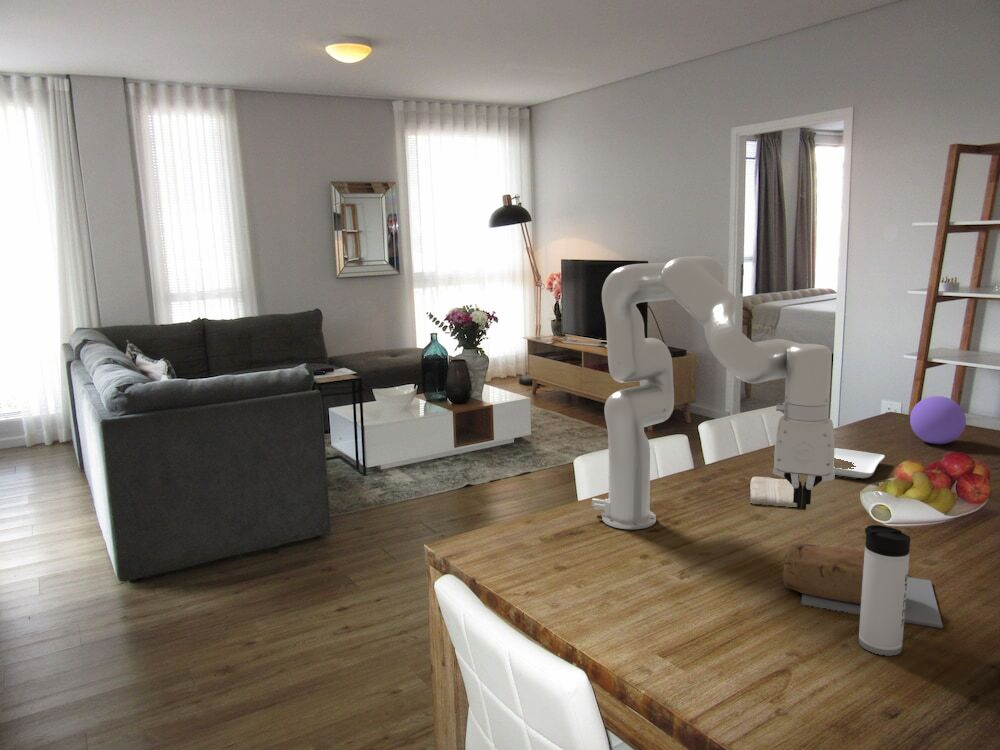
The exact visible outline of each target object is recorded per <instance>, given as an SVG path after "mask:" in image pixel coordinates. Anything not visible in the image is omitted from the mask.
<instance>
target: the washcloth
mask: <svg viewBox="0 0 1000 750" xmlns="http://www.w3.org/2000/svg"><path fill="white" fill-rule="evenodd" d="M749 488H750V500H751V502H750V504H751V503H752V504H751V505H755V504H762V505H761V506H764V505H766V506H768V505H778V506H786V507H785V508H788V507H797V503H793V495H794V488H793V486H792V485H791V484H790V482H789V481H788V480H787V479H786V478H784V479H783V478H773V477H771V476H752V477H751V480H750V487H749ZM778 506H777V507H778Z"/></svg>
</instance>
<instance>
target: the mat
mask: <svg viewBox="0 0 1000 750" xmlns="http://www.w3.org/2000/svg"><path fill="white" fill-rule="evenodd" d="M801 604H802V605H801V606H805V605H809V606H808V607H811V606H815V607H814V608H817V607H821V608H820V609H823V608H827V609H826V610H829V609H831V610H830V611H835V610H837V611H836V612H841V611H844V612H843V613H847V612H848V614H854V615H859V616H860V611H861V604H856V603H850V602H844V601H838V600H833V599H828V598H823V597H818V596H813V595H808V594H803V593H801ZM941 617H942V616H941V615H940V611H939V605H938V603H937V599H936V596H935V592H934V588H933V584H932V580H930V579H922V578H916V577H909V576H908V581H907V593H906V605H905V618H904V623H908V624H915V625H918V626H919V625H921V626H925V627H927V626H928V627H933V628H940V629H943V628H944V625H943V622H942V618H941Z"/></svg>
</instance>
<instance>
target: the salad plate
mask: <svg viewBox="0 0 1000 750" xmlns="http://www.w3.org/2000/svg"><path fill="white" fill-rule="evenodd" d="M885 457H886V456H885V454H880V453H873V452H868V451H861V450H860V451H859V450H852V449H847V448H837V447H836V448H835V447H834V458H836V459H841V460H844V461H848V462H852V464H853V463H854V464H853V465H854V466H856V467H851V468H854V469H849V468H848V469H842V468H835V467H834V469H833V470H834V474H836V475H843V476H849V477H856V478H861V479H867V478H871V476H873V475H874V473H875V471H876V470H877V467H878V465H879V464H880V463H881V462H882V461H883V460H884V459H885ZM856 478H855V479H856Z"/></svg>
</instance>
